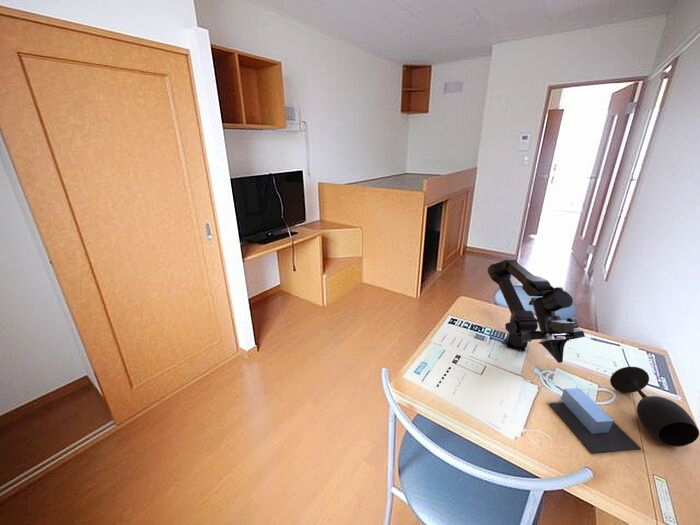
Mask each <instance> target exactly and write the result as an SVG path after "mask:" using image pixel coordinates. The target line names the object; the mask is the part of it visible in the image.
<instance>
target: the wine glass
mask: <svg viewBox="0 0 700 525" xmlns="http://www.w3.org/2000/svg"><path fill="white" fill-rule="evenodd" d="M609 381H610V382H609V383H610V385H611V387H612V388H613V389H614V390H615V391H618V392H620V393H624V394H632V393H636V392H637V393H638V395H639V396H640V397H641V399H640V400H639V401H638V404H637V406H636V414H637V417H638V420H639V421H640V423H641V425H642V426H643V427H644V429H646V431H647V432H649V433H650V435H652V436H653V437H654V438H655V439H656V440H658V441H659V442H661V443H662V444H664V445H666V446H669V447H677V448H679V447H685V446H688V445H690V444H692V443H695V441H697V439H699V437H700V430H699V428H698V426H697V425H696V422H695V421H694V420H693V418H692V417H691V415H690V414H689V413H688V412H687V411H686V410H685V409H684V408H683V407H681V406H680V404H678V403H676V402H675V401H673V400H671V399H669V398H666V397H662V396H658V395H646V394H645V392H643V391H642V390H644V389H645V388H646V387H647V385H648V384H649V382H650V375H649V374H648V372H647V371H646V370H645V369H643V368H641V367H638V366H625V367H621V368H619V369H617V370H615V371H614V372H613V373H612V374H611V376H610V379H609Z"/></svg>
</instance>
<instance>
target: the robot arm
mask: <svg viewBox="0 0 700 525" xmlns="http://www.w3.org/2000/svg"><path fill="white" fill-rule="evenodd" d="M487 274H488V275H489V277H490V279H491V281H493V282H494V283H495V284H497V285H498V287H499V290H500V292H501V294H502V297H503V298H504V301H505V302H506V305H507V307H508V309H509V311H510V318H509V322H507V323H505V330H506V331H507V333H508V334H507V337H506V348H510V349H514V350H517V351H521V352H526V348H527V347H528V345H529V343H531V342H532V341H535V340H540V341H538V344H539V345H542V347H543V348H544V349H546V351H548V353H549V354H550V355H551V356H552V358H553V359H554V360H555V361H556V363H558V364H561V363H563V362H564V361H563V360H564V350H565V345H566V344H567V342H569V341H570V340H577V339H581V338H586V334H585V332H584V330H582V328H579V321H578V320H577V318H576V317H567V319H566V320H565V319H564V320H563V319H562V318H561V316H560V315H557V314H556V312H559V311H561V310H563V309H569V308H570V307H572V305H573V304H574V300H573V297H572V296H571V294H570V293H569V292H568V291H566V290H564V288H563V287H562V286H556V287H554V286H553V285H552V283H551V282H550V281H549V280H547V279H546V278H544V277H541V276H537V275H535V274H533V273H531V272H530V271H529V270H527V269H526V268H525V267H524V266H522V265H521V264H520V263H519V262H518V261H517V260H516V259H504V260H502V261H499V262H496V263H491V264H490V265H489V266H488V267H487ZM511 277H514V279H516V280H517V281H518V282H519V283H520V284H521V285H522V287H521V288H522V290H523V292H524V293H525V294H526V295H527V296H529V297H531V298H530V300H529V302H528V305H529V306H532V308H533V310H534V312H533V311H532V310H526V309H525V307H524V305H523V303H522V301H521V299H520V296H519V295H518V293H517V290H516V289H515V287H514V284H513V282H512V281H511ZM534 313H535V314H534ZM538 328H539V330H538Z"/></svg>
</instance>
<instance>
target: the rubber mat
mask: <svg viewBox="0 0 700 525" xmlns="http://www.w3.org/2000/svg"><path fill="white" fill-rule="evenodd" d="M548 405H549V406H550V408H552V409H553V411H554V412H555V414H556V415H557V416H558V417H559V418H560V419H561V421H562V422H564V424H565V425H566V426H567V428H569V430H570V431H571V432H572V433H573V434H574V436H576V438H577V439H578V440H579V441H580V442H581V444H583V446H584V447H585V448H586V449H587V450H588V451H589V453H590V454H603V453H614V452H615V453H616V452H625V451H636V450H637V451H638V450H641V447H640V446H639V445H638V444H637V443H636V442H635V441H634V440H633V438H631V437H630V436H629V435H628V434H626V432H625V431H623V430H622V429H621V428H620V427H619V426H618V424H616V423H615V422H614V421H613V423H612V426H611V428H610V430H609V432H607V433H595V434H592V433H591V432H590V431H589V430H588V429H587V428H586V427H585V426H584V425H583V424H582V423H581V421H580V420H579V419H578V418H577V417H576V416H575V415H574V414H573V413H572V412H571V411H570V410H569V408H568V407H567V406H566V405H565V404H564V403H563V402H562V401H561V402H549V403H548Z"/></svg>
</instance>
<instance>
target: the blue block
mask: <svg viewBox="0 0 700 525" xmlns="http://www.w3.org/2000/svg"><path fill="white" fill-rule="evenodd" d="M560 401H561V403H562V402H563V403H564V404H565V405H566V406H567V407H568V408H569V410H570V411H571V412H572V413H573V414H574V415H575V416H576V417H577V418H578V419H579V420H580V421H581V423H582V424H583V425H584V426H585V427H586V428H587V429H588V430H589V431H590V432H591V433H592V434H595V433H607V432H609V430H610V428H611V426H612V423H613V422H614V419H613V418H611V417H610V416H609V414H607V413H606V412H605V411H604V410H603V409H602V408H601V407H600V406H599V405H598V404H597V403H596V402H595V401H594V400H593V399H592V398H591V397H589V395H587V394H586V393H585V392H584V391H583V390H582V389H581V387H569V388H563V391H562V394H561V397H560Z"/></svg>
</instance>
